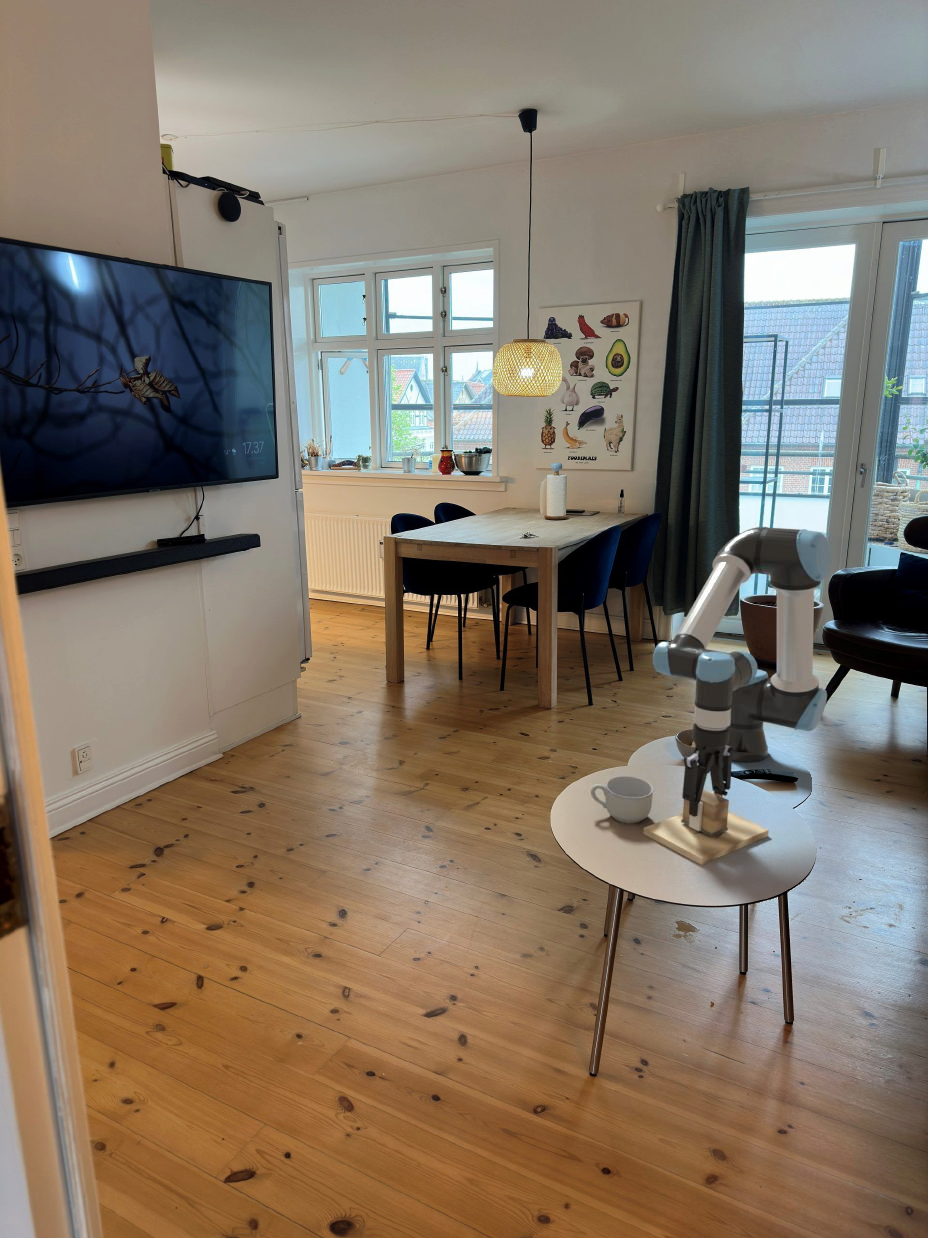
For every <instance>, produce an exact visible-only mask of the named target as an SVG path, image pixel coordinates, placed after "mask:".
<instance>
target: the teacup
mask: <svg viewBox="0 0 928 1238" xmlns="http://www.w3.org/2000/svg"><path fill="white" fill-rule="evenodd" d="M598 789H599V790H601V791H602V792H603V795H604V796H605V797H604V798H605V800H604V799H602V798H600V797H599V796H598V795H597V794H596V792H595V791H596V790H598ZM653 793H654V786H653V785H652V783H650V782H649V781H647V780H646V779H644V778H641V777H636V776H634V775H633V776H632V775H617V776H613V777H611V778H610V779H608V780H607V782H606V783H605V784H602V783H596V784H595V783H594V785H592V786H591V788H590V796H591V797H592V799H593V800H594V802H596V803H598V804H599V805H601V806H602V807H603V809H605V810H606V811H607V812H608V814H609V815H610V816H611V817H613V818H614V819H615V820H616V821H618V822H620V823H625V824H636V823H639V822H641V821H642V820H644V819H646V818H647V817H648V816H649V815H650V814H651V811H652V806H653V805H652V803H653Z"/></svg>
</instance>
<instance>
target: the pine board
mask: <svg viewBox="0 0 928 1238" xmlns="http://www.w3.org/2000/svg"><path fill="white" fill-rule="evenodd" d="M681 819H683V812H682V813H679V814H677V815H675V816H672V817H669V818H666V819H663V820H661V821H658V822H656V823H653V824H650V825H647V826H644V827H643V835H645V836H647V837H648V838H649V839H652V840H654V841H656V842H658V843H660V844H661V845H663V846H665V847H666V848H668V849H671V850H672V851H675V852H676V853H678V854H680V855H682V856H684V857H685V858H687V859H689V860H691V861H692V862H695V863H697V864H699V865H700V866H702V865H704V864H707V863H710V862H712V861H713V860H715V859H716V860H717V859H718V858H721V857H722V856H725V855H728V854H730V853H732V852H735V851H737V850H739V849H741V848H744V847H746V846H748V845H751V844H753V843H755V842H758V841H760V840H762V839H765V838H767V837H769V834H770V833H769V831H770V830H769V829H768V828H766V827H763V826H762V825H759V824H757V823H755V822H753V821H750V820H749V819H746V818H744V817H742V816H739V815H737V814H736V813H733V812H731V811H729V810H728V819H727V827H728V830H727V831H725V832H722V833H720V834H717V835H714V836H709V835H707V834H705V833H703V832H701V831H697V830H695V829H693V828H691V827H689V826H688V825H686V824H684V823H682V822H681Z"/></svg>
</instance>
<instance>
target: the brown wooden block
mask: <svg viewBox="0 0 928 1238" xmlns="http://www.w3.org/2000/svg"><path fill="white" fill-rule="evenodd" d="M711 792H712V791H709V790H706V789H705V788H703V792H702V796H701V800H700V801H701V802H703V809H702V823H701V832H703V833H705V834H707V835H709V836H714V835H717V834H720V833H722V832H725V831H727V830H728V827H727V819H728V811H729V804H730V800H729V799H727V798H725V797H724V796H723V797H720V796H718V795H716V794H713V793H711ZM682 808H683V809H682V813H683V819H681V822H682V823H684V824H686V825H688V826H689V818H690V815H689V801H687V800H685V799H683V807H682Z"/></svg>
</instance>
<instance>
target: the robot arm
mask: <svg viewBox="0 0 928 1238" xmlns="http://www.w3.org/2000/svg"><path fill="white" fill-rule="evenodd" d="M831 559H832V555H831V547H830V543H829V541H828V539H827V537H826V536H825V534H823V533H822V532H820V531H817V530H816V531H814V530H808V529H806V528H805V529H804V528H802V529H799V528H798V529H797V528H781V527H779V528H778V527H768V526H757V527H753V528H749V529H747V530H745V531H742V532H741V533H739V534H737V535H736V536H734V537H733V538H732V539H730V540H729V541H727V542H726V543H725V545H724V546H722V548H721V549H720V550H719V551H718V552H717V555H715V558H714V560H712V571H711V573H710V575H709V577H708V579H707V580H706V582H705V584H704V585H703V587H702V589H701V591H700V592H699V594H698V596H697V597H696V600H695V601H694V602H693V605H692V606H691V608H690V609H689V611H688V614H687V615H686V616H685V619H684V620H683V621H682V624H681V626H680V628H679V630H678V631H677V633H676V634H675V636H674V637H673V639H672V641H671V642H670V641H661V642H660V643H658V644H657V645H656V647H654V648H655V649H654V651H653V655H652V664H653V667H654V669H655V671H656V672H658V673H659V674H661V675H662V674H663V675H666V676H669V677H674V678H680V679H687V680H691V681H695V695H694V696H695V698H694V713H693V714H694V715H693V722H694V724H692V741H693V742H694V744H695V747H694V750H693V753H692V755H690V756H687V755H686V756H684V757H683V763H684V764H683V765H684V775H683V784H682V785H683V787H682V799H683V800H684V799H685V800H687V801H689V815H690V818H689V827H691V828H693V829H695V830H697V831H701V823H702V809H703V802H701V801H700V800H701V796H702V792H703V789H705V788H704V787H705V784H706V781H707V776H708V774H710V780H711V787H712V788H711V789H712V791H710V792H711V793H713V794H716V795H718V796H720V797H723V798H724V796H725V797H726V796H727V795H728V793H729V792H728V791H729V790H730V789H731V784H732V783H731V781H732V779H731V778H732V765H733V762H732V761H735V762H744V763H747V762H748V763H749V762H750V763H752V762H753V763H754V762H759V761H762V760H765V759H766V758H767V757H768V751H769V745H768V744H767V740H766V735H765V730H764V723H768V724H772V725H775V726H780V727H785V728H790V729H794V730H795V731H797V730H798V731H799V730H800V731H803V732H804V731H805V732H811V731H813V730H815V729H816V728H817V727H818V725H819V723H820V722H821V719H822V717H823V714H824V711H825V709H826V704H827V698H828V693H827V690H826V689H823V688H820V687H819V685H820V684H819V683H820V682H819V678H818V677H817V676H816V675H815V674H813V668H814V667H813V666H814V665H813V664H814V661H813V660H814V657H813V656H814V614H815V613H814V611H815V610H814V609H815V605H814V604H815V601H814V600H815V590H817V588H819V587H820V586H821V583H822V581H824V580H825V579H827V577H828V576H829V573H830V569H831V566H830V565H831V561H832V560H831ZM754 574H760V575H767V576H769V581H770V583H769V584H770V586H771V587H772V588H773V589H774V590H776V672H775V673H774V674H773V675H772V676H771V677H770V678H769V675H768V672H767V671H765V670H762V669H758V663H757V661H756V659H755V658H754V656H753V655H752V654H750V653H749V652H747V651H744V650H735V651H732V652H726V651H718V650H712V649H707V648H708V646H709V643H711V641H712V639H713V637H714V635H715V633H716V631H717V630H718V627H719V626H720V624H721V622H722V620H723V618H724V617H725V614H726V613H727V611H728V609H729V607H730V605H731V603H732V602H733V600H734V598H735V596H736V595H737V593H738V591H739V589H740V587H741V586H742V584H745V583H746V582H747V581H749V580H750V578H751V576H752V575H754Z"/></svg>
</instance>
